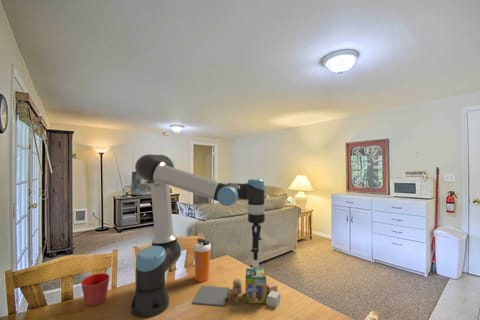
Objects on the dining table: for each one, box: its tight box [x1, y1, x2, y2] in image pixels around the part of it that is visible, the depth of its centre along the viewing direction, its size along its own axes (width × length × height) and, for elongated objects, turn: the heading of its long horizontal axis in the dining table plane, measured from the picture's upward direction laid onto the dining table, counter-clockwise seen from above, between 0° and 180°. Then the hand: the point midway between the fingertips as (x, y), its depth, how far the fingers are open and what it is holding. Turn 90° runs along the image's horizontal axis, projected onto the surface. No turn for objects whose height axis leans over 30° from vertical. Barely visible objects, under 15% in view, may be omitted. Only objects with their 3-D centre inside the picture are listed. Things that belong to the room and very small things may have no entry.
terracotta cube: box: [266, 281, 278, 296], centre depth 111 cm, size 4×4×4 cm
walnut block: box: [227, 288, 239, 304], centre depth 105 cm, size 4×4×4 cm
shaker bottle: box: [193, 238, 212, 283], centre depth 124 cm, size 9×9×20 cm
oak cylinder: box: [232, 278, 243, 295], centre depth 112 cm, size 4×4×5 cm
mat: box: [192, 285, 231, 307], centre depth 108 cm, size 14×14×1 cm
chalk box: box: [245, 267, 268, 304], centre depth 107 cm, size 9×9×15 cm
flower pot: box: [80, 272, 110, 306], centre depth 104 cm, size 11×11×10 cm
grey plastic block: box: [267, 290, 281, 308], centre depth 103 cm, size 4×5×4 cm
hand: (256, 260), depth 107 cm, fingers open, 13 cm apart
